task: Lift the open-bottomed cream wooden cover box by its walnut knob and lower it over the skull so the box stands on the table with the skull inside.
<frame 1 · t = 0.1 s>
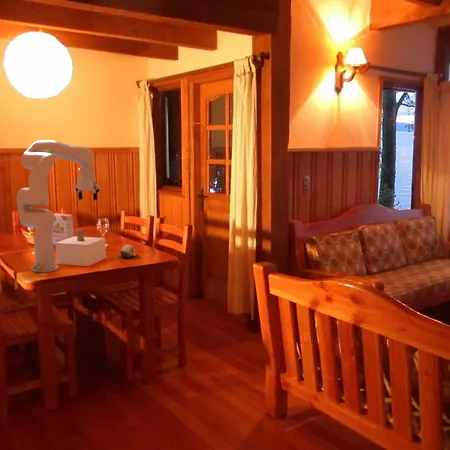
hand: (88, 199, 309), 31 cm above the table, tool pointing down, fingers open, 9 cm apart
cover: (81, 260, 290), on the table
skull: (128, 258, 299), on the table
cracker box: (62, 247, 325), on the table
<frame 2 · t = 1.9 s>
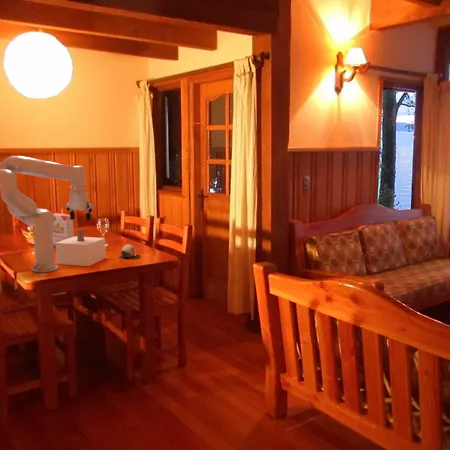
hand: (80, 219, 287), 23 cm above the table, tool pointing down, fingers open, 9 cm apart
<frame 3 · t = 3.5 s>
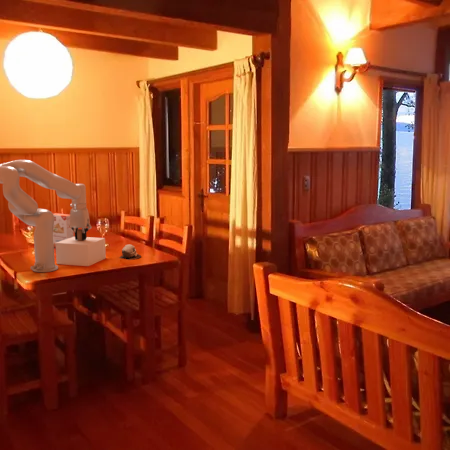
hand: (80, 239, 288), 12 cm above the table, tool pointing down, fingers closed on cover, 3 cm apart
cover: (81, 260, 290), on the table, touching gripper
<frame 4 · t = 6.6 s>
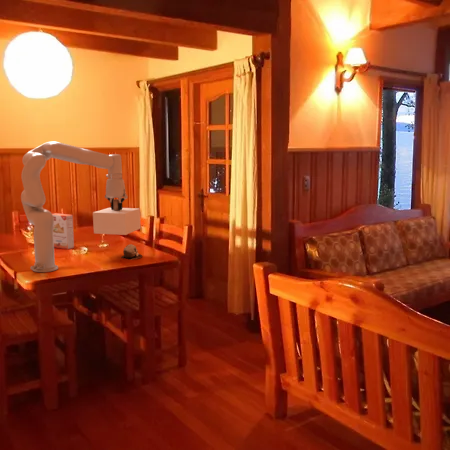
hand: (116, 209, 292), 28 cm above the table, tool pointing down, fingers closed on cover, 3 cm apart
cover: (117, 230, 295), point 16 cm above the table, touching gripper
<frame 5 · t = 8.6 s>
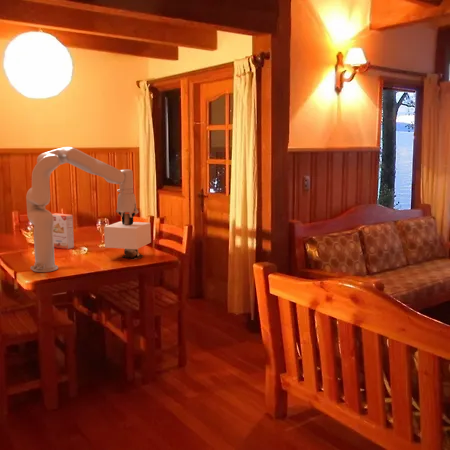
hand: (127, 223, 296), 19 cm above the table, tool pointing down, fingers closed on cover, 3 cm apart
cover: (128, 244, 298), point 7 cm above the table, touching gripper
when the fingers open (14 cm above the table, at t = 10.0 s): cover drops 1 cm, on the table.
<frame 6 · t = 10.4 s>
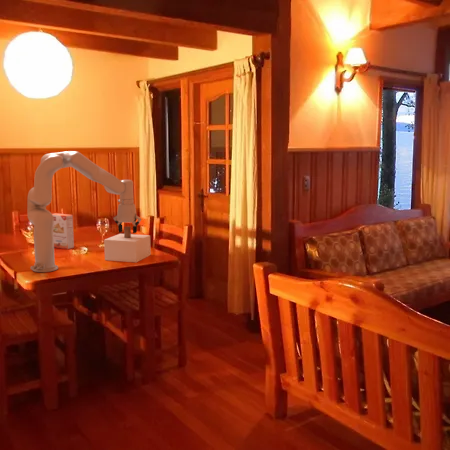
hand: (127, 232, 296), 15 cm above the table, tool pointing down, fingers open, 8 cm apart
cover: (128, 257, 299), on the table
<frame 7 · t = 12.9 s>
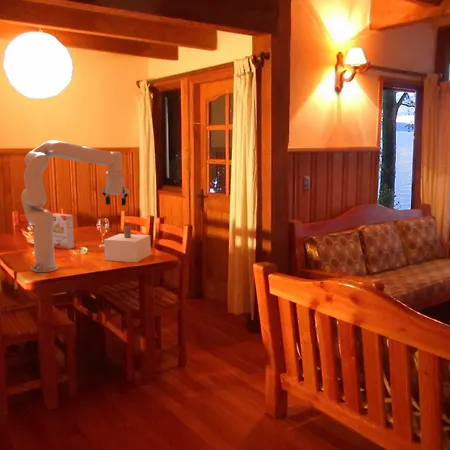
hand: (115, 204, 294), 30 cm above the table, tool pointing down, fingers open, 9 cm apart
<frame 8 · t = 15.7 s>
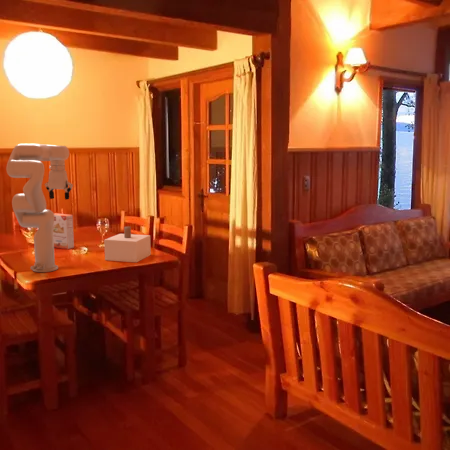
hand: (59, 198, 295), 33 cm above the table, tool pointing down, fingers open, 9 cm apart
cover: (128, 257, 299), on the table, touching skull
skull: (134, 257, 301), on the table, touching cover
everything else where it was.
at the end: cover 3.9 cm from the skull (horizontally); cover on the table; cover tilted 0° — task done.
